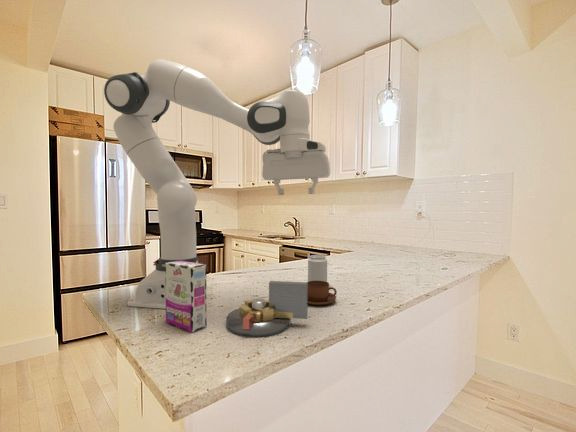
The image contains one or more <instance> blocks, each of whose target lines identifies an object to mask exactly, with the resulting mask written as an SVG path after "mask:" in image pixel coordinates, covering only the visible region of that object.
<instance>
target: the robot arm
mask: <svg viewBox="0 0 576 432" xmlns="http://www.w3.org/2000/svg"><path fill="white" fill-rule="evenodd" d="M103 92H104V93H103V95H104V98H105V100H106V102H107V104H108V105H109V106H110V107H111V108H112V109H113V110H115V111H116V112H119V113H121V114H120V115H119V116H118V117H117V118H116V119H115V120H114V122H113V125H112V127H113V131H114V133H115V135H116V137H117V139H118V142H119V143H120V146H121V147H122V149H123V150H124V152H125V154H126V155H127V157H128V158H129V159H130V162H131V163H132V164H133V165H134V167H135V169H136V170H137V171H138V173H139V174H140V176H141V178H143V180H144V181H145V182H146V183H147V185H149V187H150V188H151V190H152V191H153V192H154V193H155V194H156V200H157V201H156V202H157V203H156V204H157V214H158V215H157V216H158V224H159V232H160V257H159V258H157V260H155V261H154V262H152V263H153V265H152V266H154V267H155V269H153V271H152V272H150V273H149V274H147V276H145V277H144V278H143V279H142V280H140V282H138V285H137V286H136V289H135V294H134V295H133V296H131V297H130V298H129V299H128V301H127V307H133V308H134V307H135V308H136V307H138V308H149V309H150V308H151V309H162V310H163V309H165V310H166V265H165V263H168V262H174V261H186V262H193V263H199V260H198V258H199V257H198V256H197V226H196V225H197V224H196V207H197V206H196V205H197V202H198V201H197V200H198V197H197V194H196V193H197V192H196V191H195V190H194V189H193V187H192V185H191V184H190V182H189V181H188V179H187V178H186V176H185V175H184V173H183V172H182V170H181V169H180V168H179V166H178V165H177V163H176V162H175V161H174V158H173V157H172V156H171V153H170V152H169V151H168V149H167V148H166V147H165V145H164V143H163V142H162V140H161V139H160V138H159V136H158V135H157V132H155V130H154V127H153V124H155V123H157V122H159V120H160V119H161V118H162V116H163V115H164V114H166V112H167V111H168V110H169V108H170V105H171V103H170V102H172V103H175V104H177V105H180V106H181V107H183V108H187V109H189V110H192V111H196V112H199V113H202V114H206V115H209V116H212V117H215V118H218V119H221V120H224V121H226V122H228V123H231V124H232V125H234V126H237V127H239V128H240V129H243V130H245V131H247V132H249V133H250V134H251V135H253V137H254V138H255V139H256V140H257V141H258V142H259V143H260V144H262V145H264V146H271V145H272V146H273V145H275V144H277V143H278V142H279V148H275V149H267V150H266V151H264V152H263V154H262V156H261V157H262V164H263V165H262V175H261V176H262V178H263V179H264V180H265V181H273V184H274V186H275V187H276V189H277V196H283V195H285V189H284V188H282V187H281V185H280V184H281V181H283V180H304V179H306V180H308V179H311V182H312V185H311V187H308V194H309V195H314V194H315V190H316V189H315V188H316V187H317V185H318V184H319V179H324V178H325V179H326V178H327V179H328V178H329V177H330V175H331V166H330V160H329V157H328V155H327V154H326V149H327V148H326V146H325V144H323V143H322V142H320V141H317V140H312V139H311V135H310V130H309V128H310V127H309V126H310V123H311V122H310V121H311V120H310V105H309V101H308V98H307V96H306V94H305V93H304V92H301V91H300V90H297V89H292V88H291V89H284V90H282V91H281V92H280V93H279V94H277V95H276V96H275V97H273V98H269V99H267V100H263V101H258V102H256V103H253V104H252V106H250V108H246V107H245V106H242V105H240V104H238V103H236V102H234V101H233V100H232V99H230V98H229V97H227V96H226V94H224V92H223V91H222V90H221V89H220V88H219V87H218V85H216V84H215V83H214V82H213V81H212V79H211V78H209V77H208V76H206V74H203V73H202V72H200V71H199V70H196V69H195V68H192V67H189V66H187V65H185V64H181V63H179V62H175V61H173V60H168V59H163V58H161V59H160V58H158V59H155V60H153V61H151V63H150V64H149V65H148V67H147V69H146V73H144V74H143V75H141V74H140V73H139V72H137V71H135V72H134V71H133V72H129V73H122V74H116V75H113V76H110V77H109V78H108V80H106V82H105V84H104V88H103Z"/></svg>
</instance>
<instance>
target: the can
mask: <svg viewBox="0 0 576 432" xmlns="http://www.w3.org/2000/svg"><path fill="white" fill-rule="evenodd" d="M309 281H325V282H328V260H327V258H326V255H322V254H311V255H310V256H309V258H308V259H307V282H309Z"/></svg>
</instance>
